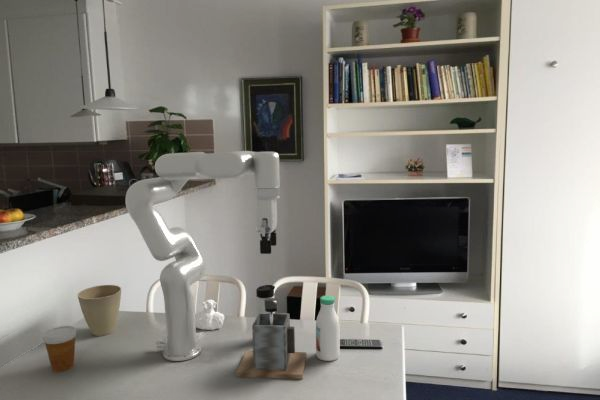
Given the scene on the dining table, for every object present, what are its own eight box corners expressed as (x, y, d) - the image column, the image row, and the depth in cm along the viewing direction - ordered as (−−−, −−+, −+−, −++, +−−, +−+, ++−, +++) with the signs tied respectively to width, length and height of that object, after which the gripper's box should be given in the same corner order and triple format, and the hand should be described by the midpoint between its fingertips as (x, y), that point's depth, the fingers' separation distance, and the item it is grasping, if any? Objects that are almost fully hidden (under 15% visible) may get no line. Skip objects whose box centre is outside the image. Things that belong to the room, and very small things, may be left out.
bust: (225, 332, 174) (228, 303, 179) (221, 327, 167) (224, 297, 173) (194, 332, 175) (198, 303, 180) (189, 327, 168) (193, 297, 174)
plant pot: (72, 335, 168) (68, 294, 166) (106, 321, 181) (103, 282, 179) (99, 344, 161) (95, 301, 159) (132, 328, 174) (129, 288, 172)
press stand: (236, 376, 137) (234, 328, 135) (246, 354, 151) (244, 310, 149) (302, 379, 135) (301, 329, 133) (306, 356, 149) (305, 311, 147)
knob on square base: (257, 358, 139) (255, 304, 137) (262, 346, 147) (260, 295, 144) (283, 358, 138) (281, 305, 136) (286, 346, 146) (285, 296, 144)
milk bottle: (343, 352, 151) (342, 295, 148) (334, 363, 144) (334, 303, 141) (321, 348, 154) (320, 292, 151) (312, 359, 147) (311, 299, 145)
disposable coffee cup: (45, 377, 139) (41, 340, 137) (46, 364, 147) (42, 329, 146) (80, 369, 143) (76, 333, 142) (79, 357, 152) (75, 322, 150)
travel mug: (273, 345, 158) (272, 289, 155) (255, 343, 159) (253, 288, 156) (278, 337, 164) (276, 283, 161) (260, 335, 165) (259, 282, 162)
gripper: (260, 189, 144) (261, 242, 147) (248, 197, 127) (250, 256, 130) (283, 189, 144) (284, 242, 146) (275, 197, 127) (276, 257, 129)
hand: (268, 249), depth 138 cm, fingers open, 9 cm apart
